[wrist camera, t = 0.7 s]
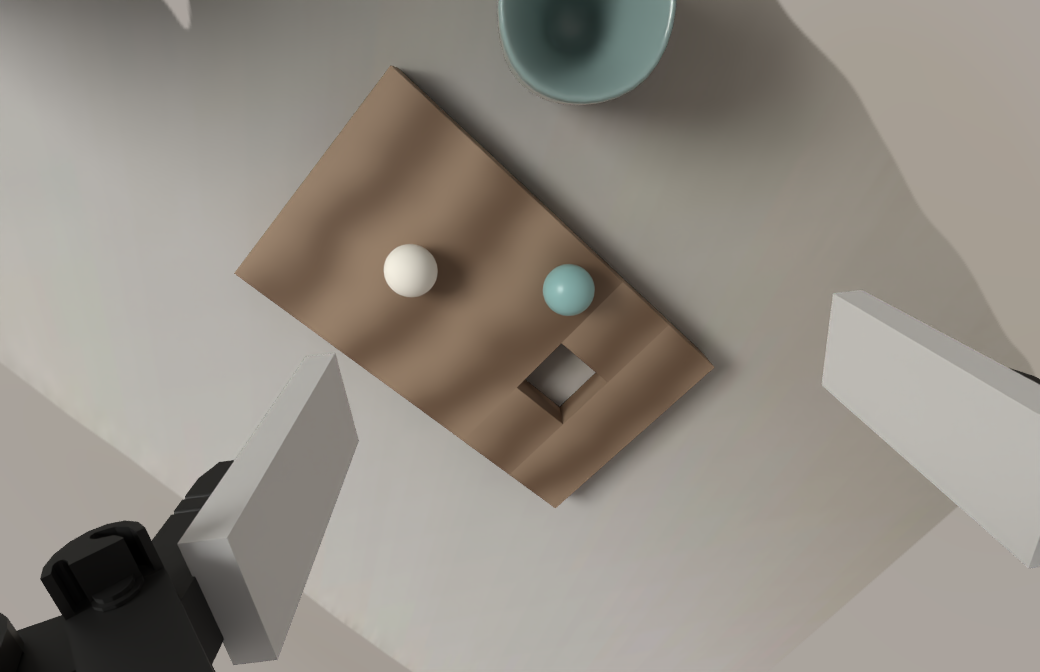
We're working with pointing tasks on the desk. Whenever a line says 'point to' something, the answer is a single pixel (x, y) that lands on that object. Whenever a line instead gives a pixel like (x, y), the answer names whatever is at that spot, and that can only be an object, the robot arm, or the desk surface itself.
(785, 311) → the desk surface
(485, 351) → the board
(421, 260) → the ball
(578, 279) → the teal ball
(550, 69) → the cup
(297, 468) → the robot arm
